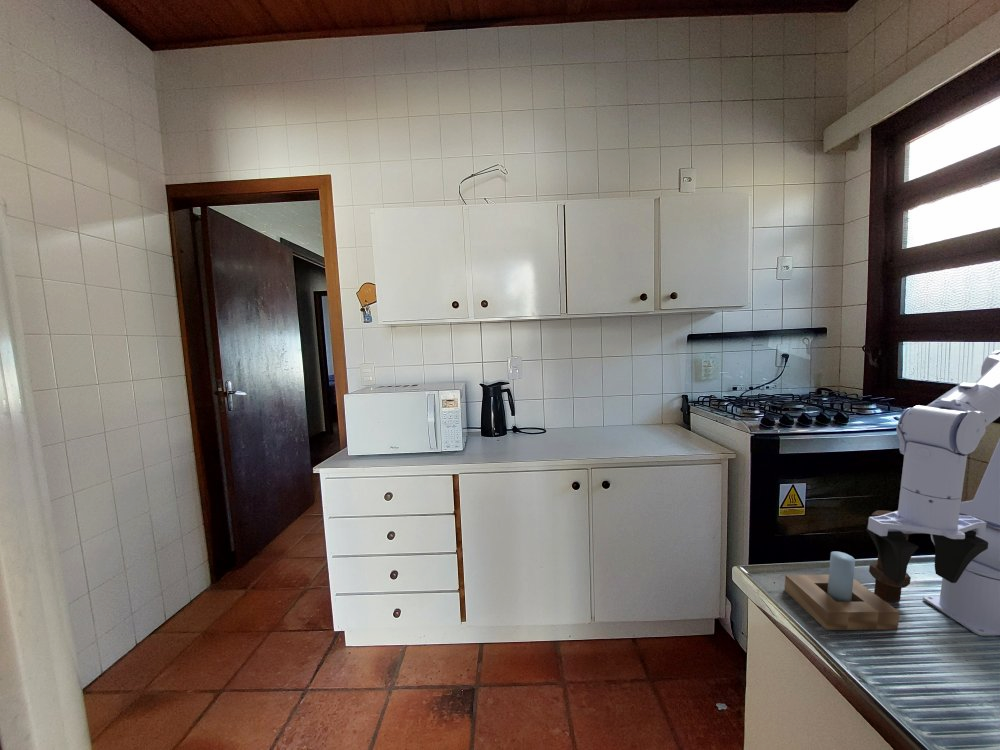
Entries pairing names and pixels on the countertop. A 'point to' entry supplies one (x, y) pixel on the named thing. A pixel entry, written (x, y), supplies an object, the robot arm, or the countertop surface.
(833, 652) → the countertop surface
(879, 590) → the bolt
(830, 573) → the dowel
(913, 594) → the countertop surface
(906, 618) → the countertop surface
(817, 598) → the hole block
